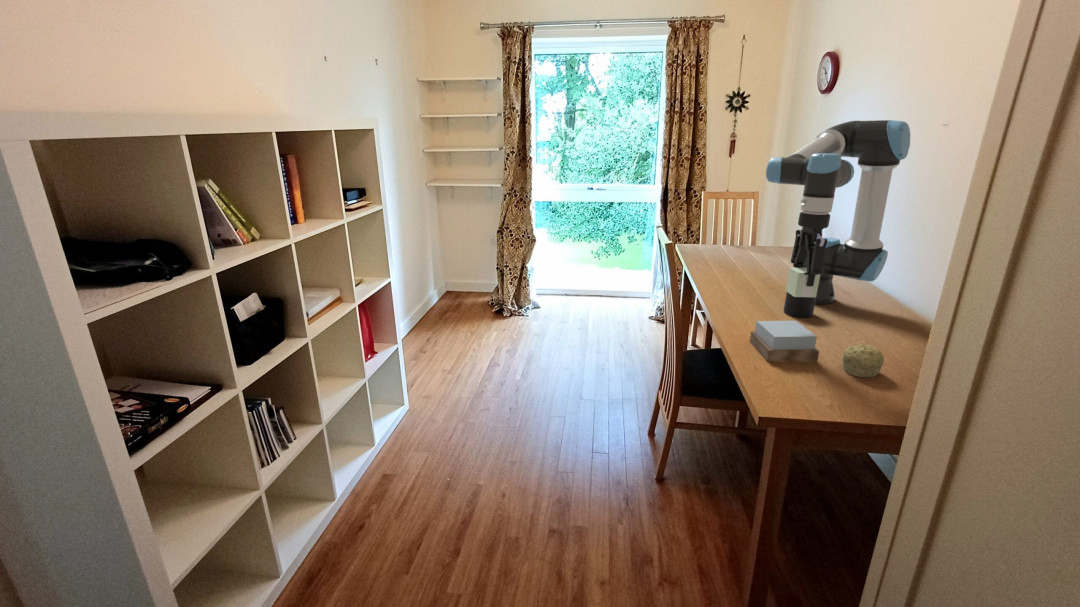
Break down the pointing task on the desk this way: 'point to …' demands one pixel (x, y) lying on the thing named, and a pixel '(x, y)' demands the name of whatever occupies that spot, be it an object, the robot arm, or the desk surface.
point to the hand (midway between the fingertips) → (800, 292)
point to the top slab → (785, 335)
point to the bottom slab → (783, 352)
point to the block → (799, 282)
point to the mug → (799, 306)
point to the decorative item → (862, 360)
